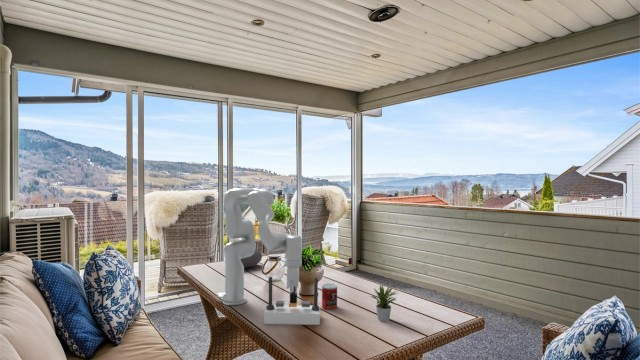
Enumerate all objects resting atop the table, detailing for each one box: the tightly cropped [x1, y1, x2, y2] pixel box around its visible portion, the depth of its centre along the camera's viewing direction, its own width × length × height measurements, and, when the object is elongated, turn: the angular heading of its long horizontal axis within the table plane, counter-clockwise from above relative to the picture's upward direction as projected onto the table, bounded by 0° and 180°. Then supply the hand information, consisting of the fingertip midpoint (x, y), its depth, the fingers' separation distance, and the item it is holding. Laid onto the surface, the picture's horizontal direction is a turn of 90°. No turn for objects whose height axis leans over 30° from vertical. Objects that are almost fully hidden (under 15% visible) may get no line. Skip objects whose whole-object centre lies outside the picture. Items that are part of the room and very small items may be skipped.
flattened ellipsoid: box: [241, 247, 263, 269], centre depth 265 cm, size 25×25×15 cm
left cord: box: [265, 276, 275, 310], centre depth 169 cm, size 4×4×15 cm
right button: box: [301, 300, 311, 307], centre depth 169 cm, size 4×4×2 cm
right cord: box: [311, 277, 321, 311], centre depth 169 cm, size 4×4×15 cm
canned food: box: [321, 283, 338, 311], centre depth 186 cm, size 8×8×11 cm
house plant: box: [370, 284, 398, 323], centre depth 169 cm, size 14×14×16 cm
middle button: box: [288, 300, 298, 307], centre depth 169 cm, size 4×4×2 cm
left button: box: [275, 300, 285, 307], centre depth 169 cm, size 4×4×2 cm
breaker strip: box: [263, 304, 321, 326], centre depth 169 cm, size 25×10×5 cm, turn 89°
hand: (293, 302), depth 169 cm, fingers closed
